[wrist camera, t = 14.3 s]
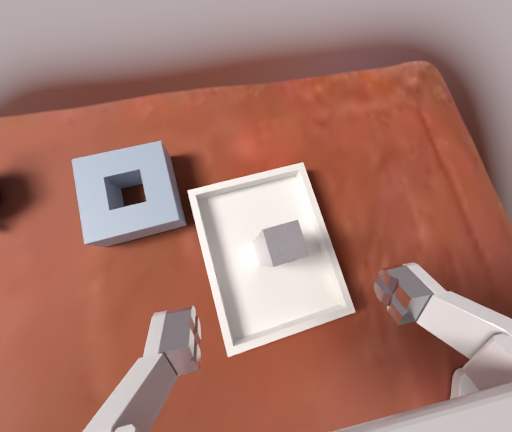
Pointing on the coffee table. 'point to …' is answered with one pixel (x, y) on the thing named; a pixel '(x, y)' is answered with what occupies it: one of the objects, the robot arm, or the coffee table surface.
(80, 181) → the socket block
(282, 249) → the pin
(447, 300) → the robot arm
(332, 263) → the tray
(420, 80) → the coffee table surface
